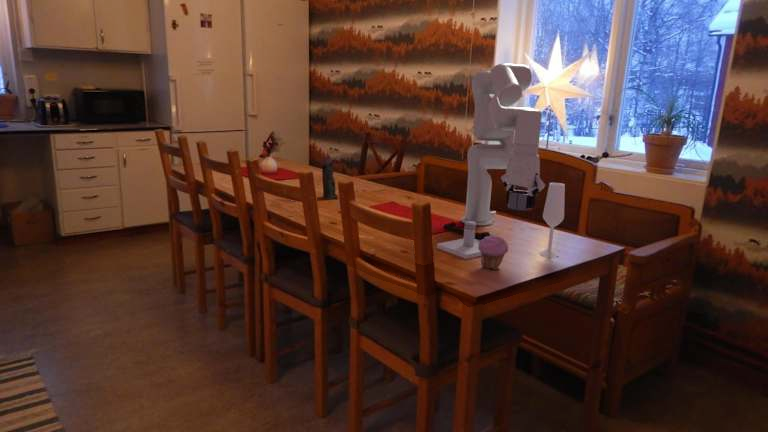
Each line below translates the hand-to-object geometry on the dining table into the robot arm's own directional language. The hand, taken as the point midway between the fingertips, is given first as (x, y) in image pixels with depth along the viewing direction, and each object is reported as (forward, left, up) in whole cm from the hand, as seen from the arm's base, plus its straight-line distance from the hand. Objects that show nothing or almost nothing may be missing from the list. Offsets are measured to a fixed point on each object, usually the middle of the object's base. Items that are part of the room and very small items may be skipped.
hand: (519, 205), depth 170 cm
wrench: (-6, -25, -18) cm, 32 cm away
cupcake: (+14, +2, -18) cm, 23 cm away
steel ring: (0, 0, -1) cm, 1 cm away
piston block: (+7, -14, -18) cm, 24 cm away
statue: (+5, -106, -18) cm, 108 cm away
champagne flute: (-13, +4, -18) cm, 23 cm away
